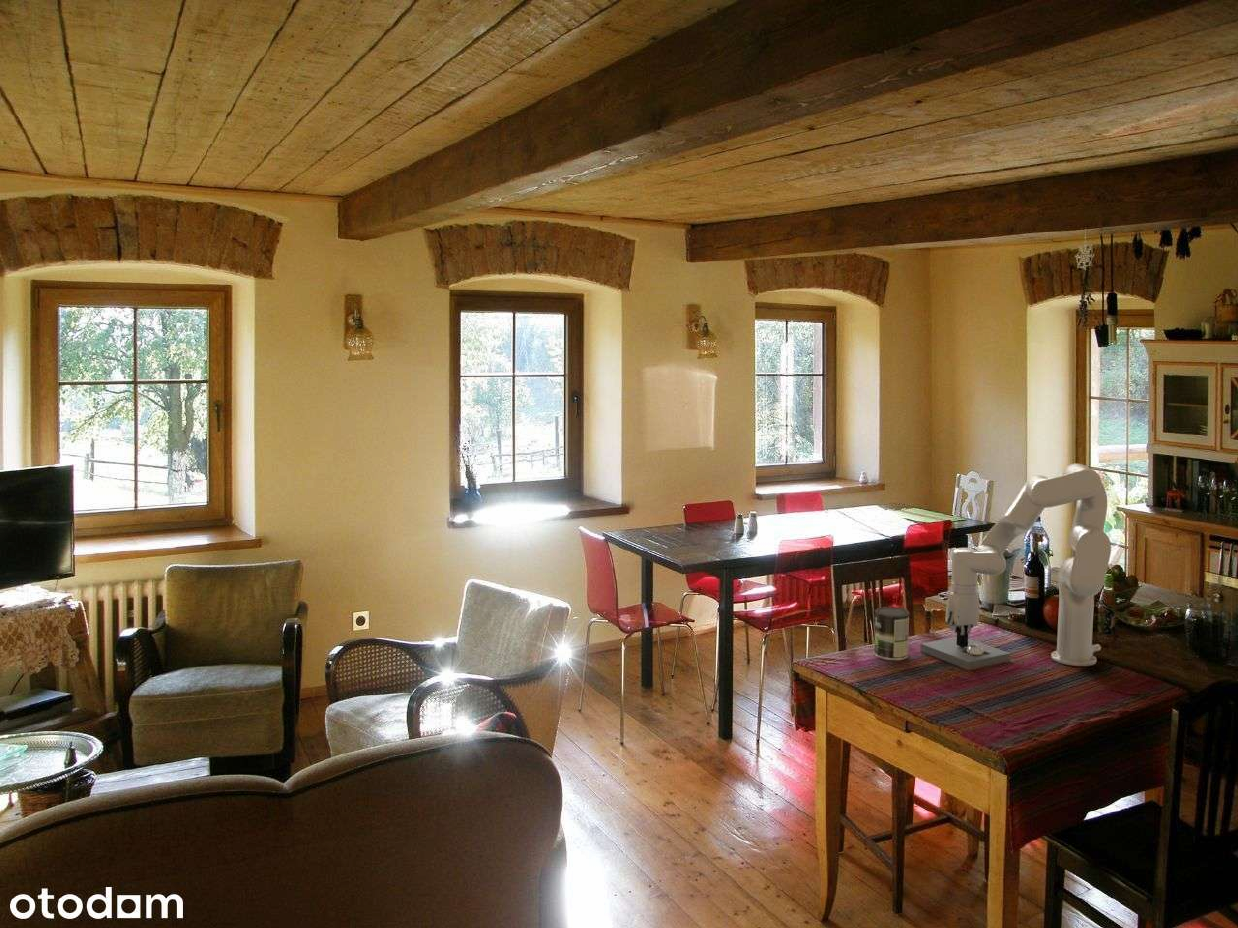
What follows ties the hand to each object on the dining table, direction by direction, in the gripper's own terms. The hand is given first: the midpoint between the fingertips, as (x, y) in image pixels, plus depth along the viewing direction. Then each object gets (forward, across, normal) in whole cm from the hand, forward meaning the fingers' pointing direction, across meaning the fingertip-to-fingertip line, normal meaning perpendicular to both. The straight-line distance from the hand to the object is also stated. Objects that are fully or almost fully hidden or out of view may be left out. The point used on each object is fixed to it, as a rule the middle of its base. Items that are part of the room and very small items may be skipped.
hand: (962, 645), depth 312 cm
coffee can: (+3, +19, -10) cm, 22 cm away
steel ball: (0, 0, +6) cm, 6 cm away
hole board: (+3, 0, +1) cm, 3 cm away
